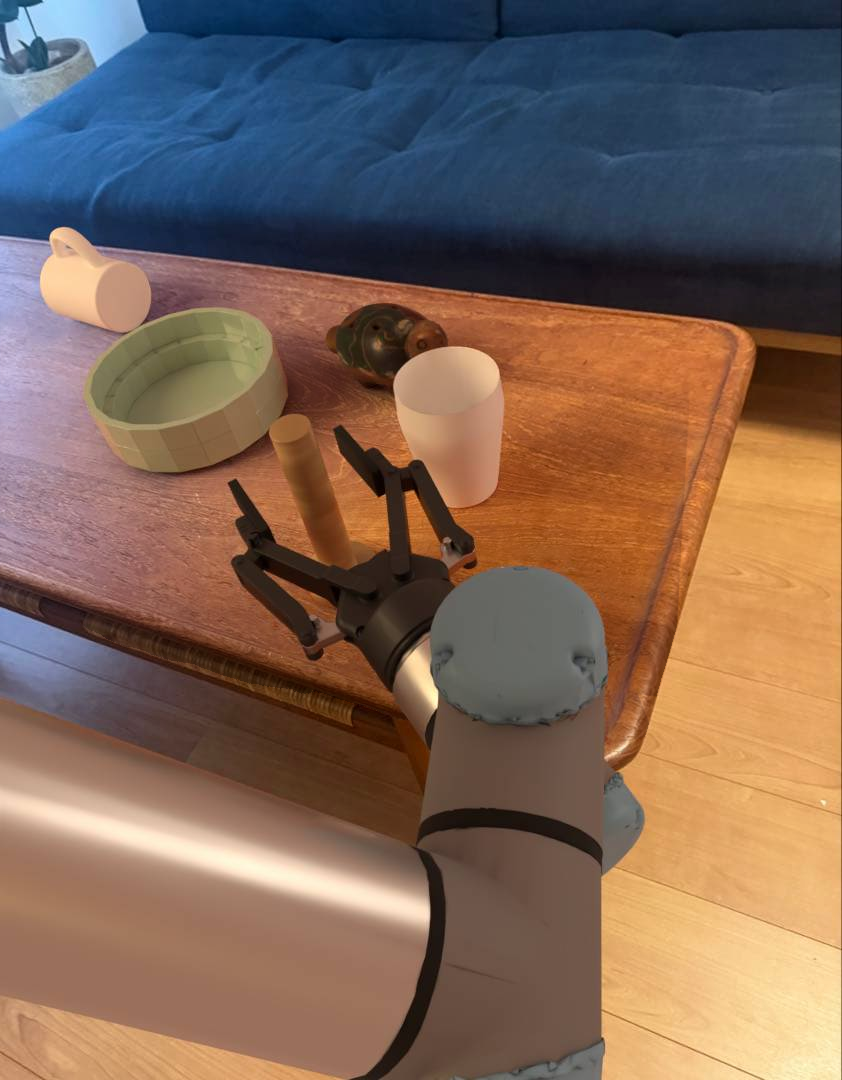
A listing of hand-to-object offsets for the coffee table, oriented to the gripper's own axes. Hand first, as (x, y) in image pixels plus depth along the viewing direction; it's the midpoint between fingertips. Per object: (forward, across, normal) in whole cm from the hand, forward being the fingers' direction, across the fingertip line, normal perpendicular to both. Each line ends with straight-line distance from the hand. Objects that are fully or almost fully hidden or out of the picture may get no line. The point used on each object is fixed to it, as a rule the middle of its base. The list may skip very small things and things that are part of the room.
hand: (289, 465), depth 65 cm
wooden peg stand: (-5, 0, -10) cm, 11 cm away
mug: (+51, -4, -10) cm, 52 cm away
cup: (-2, +14, -10) cm, 17 cm away
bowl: (+25, -2, -10) cm, 27 cm away
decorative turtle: (+16, +17, -10) cm, 26 cm away
